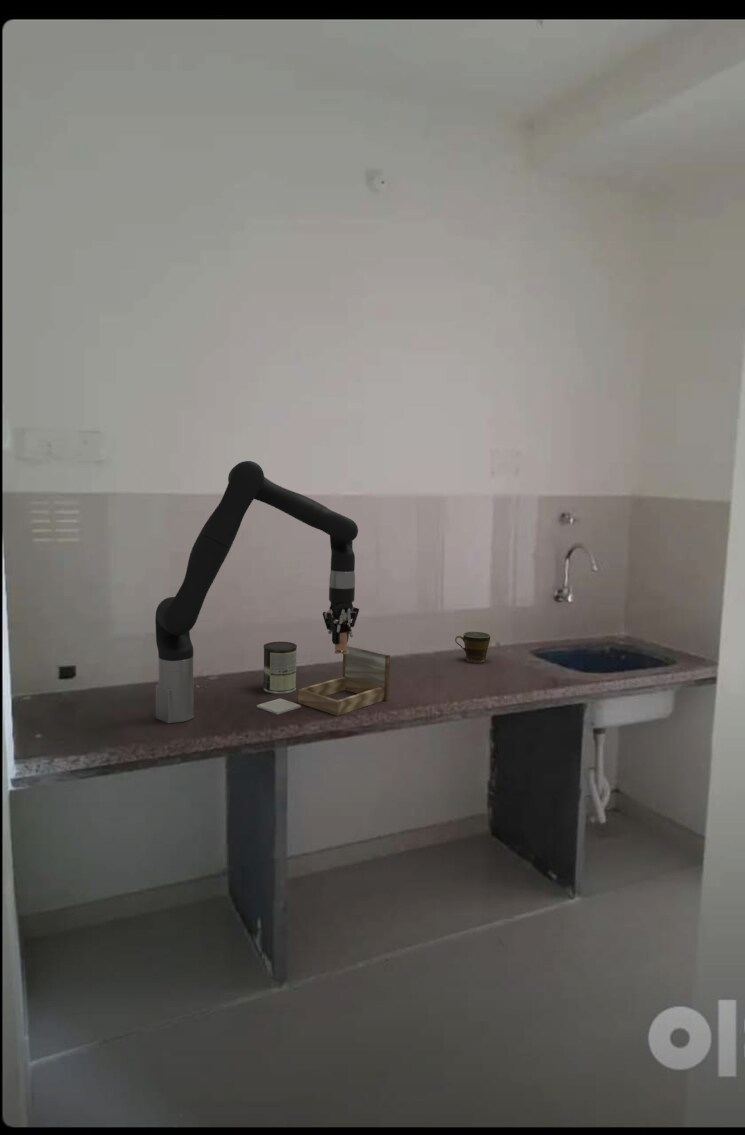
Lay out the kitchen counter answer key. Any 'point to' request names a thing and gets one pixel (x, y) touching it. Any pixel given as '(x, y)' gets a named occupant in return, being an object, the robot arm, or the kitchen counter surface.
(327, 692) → the cold frame
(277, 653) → the coffee can
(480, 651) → the ceramic cup
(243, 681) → the kitchen counter surface
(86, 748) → the kitchen counter surface
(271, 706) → the tile
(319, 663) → the kitchen counter surface
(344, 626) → the grandmother figurine
